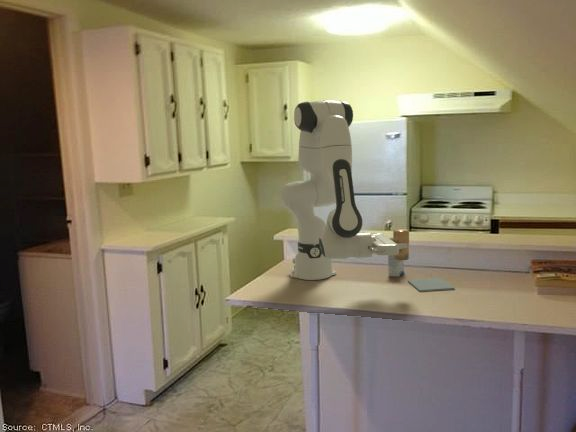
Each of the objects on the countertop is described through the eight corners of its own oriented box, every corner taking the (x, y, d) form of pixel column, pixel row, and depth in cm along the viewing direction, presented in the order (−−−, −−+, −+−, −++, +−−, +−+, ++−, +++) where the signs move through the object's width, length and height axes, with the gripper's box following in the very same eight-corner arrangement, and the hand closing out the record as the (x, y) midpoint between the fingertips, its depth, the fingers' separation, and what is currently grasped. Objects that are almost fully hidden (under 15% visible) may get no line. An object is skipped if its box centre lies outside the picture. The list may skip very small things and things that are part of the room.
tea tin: (391, 256, 189) (391, 229, 187) (406, 256, 189) (406, 228, 187) (395, 260, 183) (395, 232, 181) (411, 259, 184) (411, 231, 182)
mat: (407, 281, 200) (407, 280, 200) (440, 279, 201) (440, 277, 201) (419, 291, 187) (419, 290, 187) (454, 289, 188) (454, 287, 188)
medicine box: (399, 277, 206) (399, 255, 205) (388, 276, 208) (388, 254, 207) (403, 271, 213) (403, 251, 212) (393, 271, 215) (393, 250, 214)
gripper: (372, 242, 173) (413, 240, 175) (358, 230, 193) (395, 229, 195) (372, 261, 174) (413, 258, 176) (358, 247, 194) (395, 245, 196)
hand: (403, 242), depth 185 cm, fingers closed on tea tin, 5 cm apart
